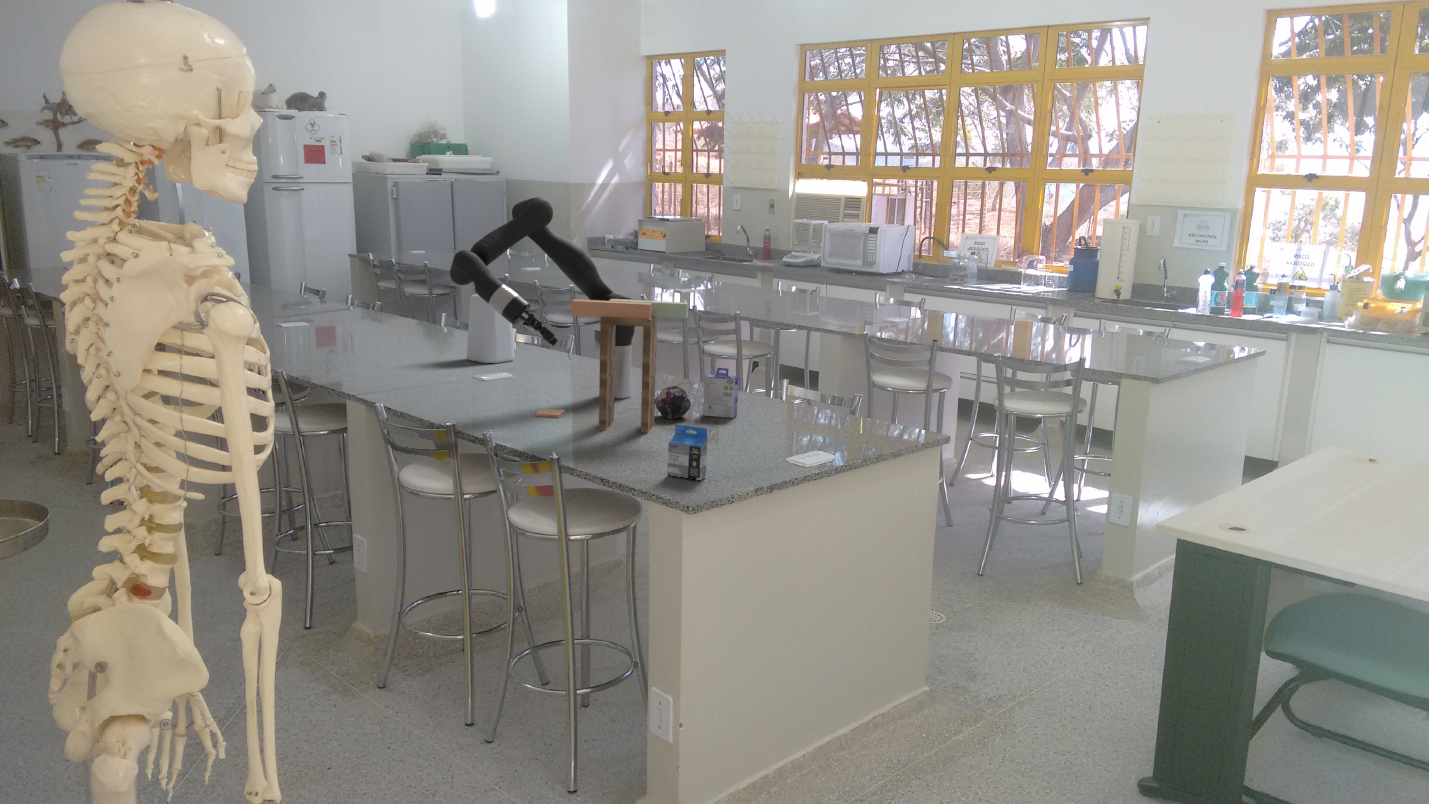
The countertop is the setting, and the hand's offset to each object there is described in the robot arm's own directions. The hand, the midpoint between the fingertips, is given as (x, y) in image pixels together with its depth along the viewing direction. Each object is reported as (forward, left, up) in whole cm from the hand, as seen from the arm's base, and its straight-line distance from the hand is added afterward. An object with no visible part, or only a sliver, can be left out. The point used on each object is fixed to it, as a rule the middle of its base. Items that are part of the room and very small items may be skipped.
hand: (554, 340), depth 290 cm
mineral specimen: (-21, +31, -25) cm, 45 cm away
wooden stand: (-5, +20, -24) cm, 32 cm away
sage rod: (-7, +25, +8) cm, 27 cm away
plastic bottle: (-101, -50, -25) cm, 115 cm away
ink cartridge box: (-27, +45, -25) cm, 58 cm away
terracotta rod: (-2, +16, +8) cm, 18 cm away
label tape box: (+43, +43, -25) cm, 66 cm away
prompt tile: (-15, -5, -24) cm, 29 cm away
